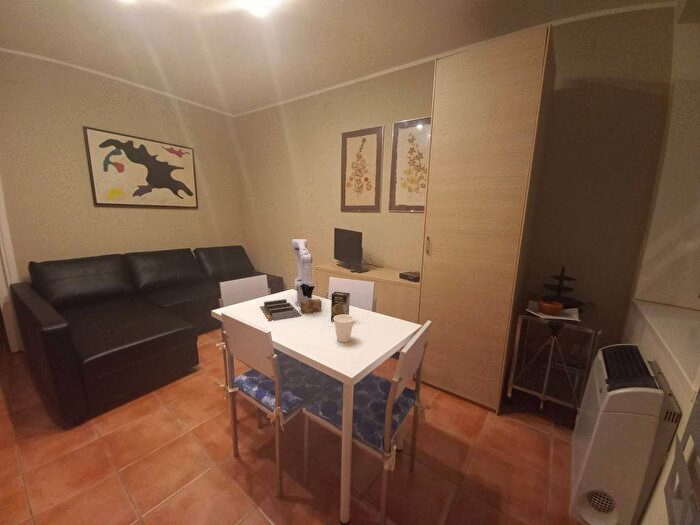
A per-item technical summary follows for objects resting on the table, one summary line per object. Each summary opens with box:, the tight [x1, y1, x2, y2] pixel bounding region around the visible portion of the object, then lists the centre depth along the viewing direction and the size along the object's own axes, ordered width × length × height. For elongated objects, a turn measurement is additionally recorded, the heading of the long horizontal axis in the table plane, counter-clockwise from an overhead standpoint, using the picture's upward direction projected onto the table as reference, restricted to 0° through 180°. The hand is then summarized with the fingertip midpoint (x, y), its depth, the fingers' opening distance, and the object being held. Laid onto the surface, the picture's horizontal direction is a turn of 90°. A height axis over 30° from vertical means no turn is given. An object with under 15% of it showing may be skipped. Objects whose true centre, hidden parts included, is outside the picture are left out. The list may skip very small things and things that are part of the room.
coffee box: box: [330, 290, 351, 322], centre depth 156 cm, size 9×6×16 cm
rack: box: [259, 298, 303, 322], centre depth 168 cm, size 19×25×3 cm
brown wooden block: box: [300, 298, 322, 315], centre depth 169 cm, size 12×4×7 cm, turn 117°
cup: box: [334, 314, 355, 343], centre depth 133 cm, size 10×10×11 cm
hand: (307, 297), depth 166 cm, fingers open, 7 cm apart
